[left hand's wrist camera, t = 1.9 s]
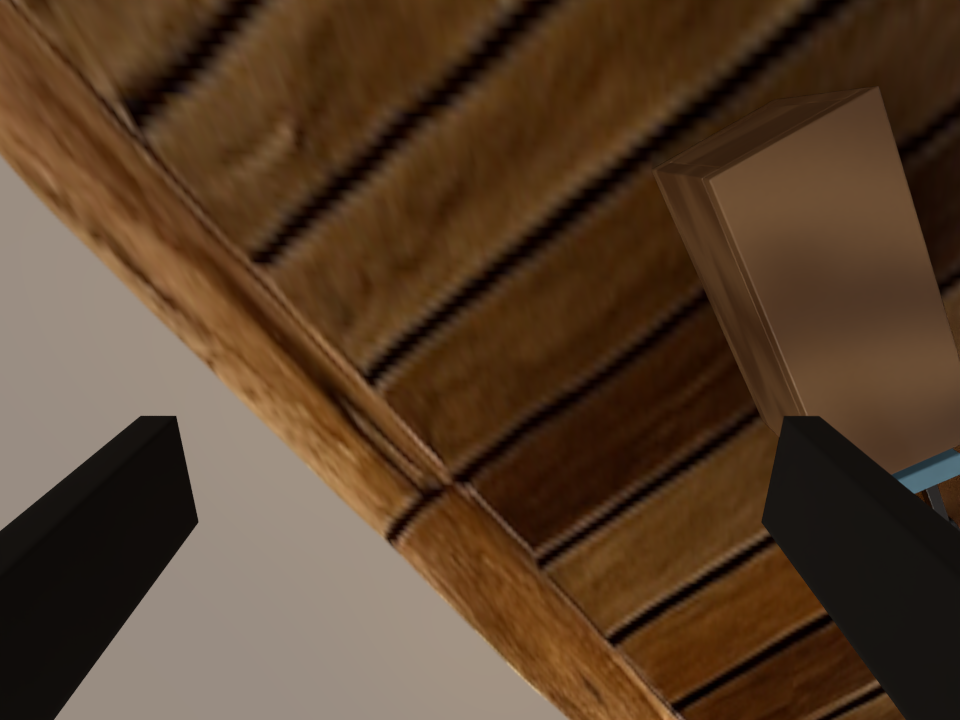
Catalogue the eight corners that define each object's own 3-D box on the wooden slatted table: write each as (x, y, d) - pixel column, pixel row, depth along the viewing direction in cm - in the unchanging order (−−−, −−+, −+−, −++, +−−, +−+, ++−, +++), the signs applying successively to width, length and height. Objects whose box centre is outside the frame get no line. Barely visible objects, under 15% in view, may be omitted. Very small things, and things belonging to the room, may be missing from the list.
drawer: (907, 482, 35) (991, 549, 29) (821, 519, 36) (886, 591, 30) (796, 173, 29) (875, 181, 23) (695, 228, 30) (746, 249, 24)
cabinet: (871, 370, 33) (983, 435, 26) (762, 421, 35) (840, 497, 27) (774, 99, 28) (879, 84, 21) (650, 169, 29) (708, 179, 22)
